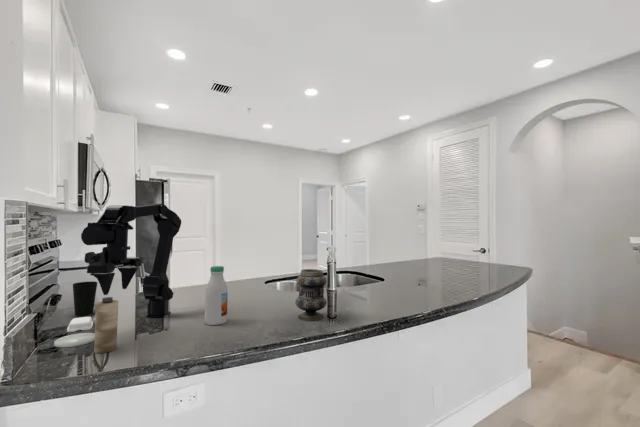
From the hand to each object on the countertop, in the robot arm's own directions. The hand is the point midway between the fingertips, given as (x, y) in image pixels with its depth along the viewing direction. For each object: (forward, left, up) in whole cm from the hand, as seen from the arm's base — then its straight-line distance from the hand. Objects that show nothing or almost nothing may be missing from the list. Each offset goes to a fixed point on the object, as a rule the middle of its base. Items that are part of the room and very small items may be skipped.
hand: (115, 291), depth 102 cm
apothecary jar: (-63, -20, -13) cm, 67 cm away
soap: (+15, -5, -14) cm, 21 cm away
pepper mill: (-7, +14, -13) cm, 20 cm away
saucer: (+6, +8, -13) cm, 16 cm away
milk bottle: (-29, -12, -13) cm, 34 cm away
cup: (+25, -20, -13) cm, 35 cm away
